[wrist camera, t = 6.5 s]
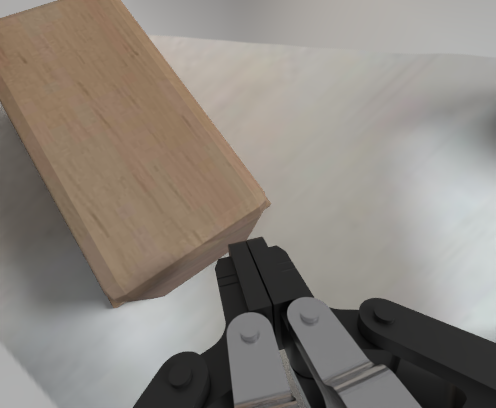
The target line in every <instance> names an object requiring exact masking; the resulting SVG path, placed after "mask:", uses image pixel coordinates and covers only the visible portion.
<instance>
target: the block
mask: <svg viewBox="0 0 496 408" xmlns="http://www.w3.org/2000/svg"><path fill="white" fill-rule="evenodd" d="M0 102H1V104H2V106H3V107H4V109H5V111H6V113H7V115H8V117H9V118H10V120H11V122H12V124H13V126H14V128H15V130H16V131H17V133H18V135H19V137H20V139H21V141H22V142H23V144H24V146H25V148H26V150H27V152H28V154H29V155H30V157H31V159H32V161H33V163H34V165H35V166H36V168H37V170H38V172H39V174H40V176H41V177H42V179H43V181H44V183H45V185H46V187H47V189H48V190H49V192H50V194H51V196H52V198H53V200H54V201H55V203H56V205H57V207H58V209H59V211H60V212H61V214H62V216H63V218H64V220H65V222H66V224H67V225H68V227H69V229H70V231H71V233H72V235H73V236H74V238H75V240H76V242H77V244H78V246H79V247H80V249H81V251H82V253H83V255H84V257H85V259H86V260H87V262H88V264H89V266H90V268H91V270H92V271H93V273H94V275H95V277H96V279H97V281H98V282H99V284H100V286H101V288H102V290H103V292H104V294H105V295H107V296H108V297H109V298H111V299H112V300H114V301H115V302H117V303H121V302H129V301H137V300H145V299H153V298H158V297H162V296H165V295H167V294H168V293H169V292H171V291H172V290H174V289H175V288H177V287H178V286H180V285H181V284H183V283H184V282H185V281H187V280H188V279H190V278H191V277H193V276H194V275H196V274H197V273H199V272H200V271H201V270H203V269H204V268H206V267H207V266H209V265H210V264H212V263H213V262H215V261H216V260H217V259H219V258H220V257H222V256H223V255H225V254H226V253H228V252H229V250H228V244H232V243H236V242H241V241H245V240H247V238H248V236H249V235H250V233H251V232H252V230H253V228H254V226H255V225H256V223H257V221H258V219H259V218H260V216H261V214H262V212H263V211H264V209H265V207H266V205H267V200H266V196H265V192H264V191H263V189H262V188H261V187H260V185H259V184H258V183H257V181H256V180H255V179H254V177H253V176H252V175H251V173H250V172H249V171H248V169H247V168H246V167H245V165H244V164H243V163H242V161H241V160H240V159H239V157H238V156H237V155H236V153H235V152H234V151H233V149H232V148H231V147H230V145H229V144H228V143H227V141H226V140H225V139H224V137H223V136H222V135H221V133H220V132H219V131H218V129H217V128H216V127H215V125H214V124H213V123H212V121H211V120H210V119H209V117H208V116H207V115H206V113H205V112H204V111H203V109H202V108H201V107H200V105H199V104H198V103H197V101H196V100H195V99H194V97H193V96H192V95H191V93H190V92H189V91H188V89H187V88H186V87H185V85H184V84H183V83H182V81H181V80H180V79H179V77H178V76H177V75H176V73H175V72H174V71H173V69H172V68H171V67H170V65H169V64H168V63H167V61H166V60H165V59H164V57H163V56H162V55H161V53H160V52H159V51H158V49H157V48H156V47H155V45H154V44H153V43H152V41H151V40H150V39H149V37H148V36H147V35H146V33H145V32H144V31H143V29H142V28H141V27H140V25H139V24H138V23H137V21H136V20H135V19H134V17H133V16H132V15H131V14H130V12H129V11H128V9H127V8H126V7H125V5H124V4H123V3H122V2H121V0H57V1H54V2H51V3H48V4H44V5H41V6H38V7H35V8H32V9H29V10H25V11H22V12H19V13H16V14H12V15H9V16H6V17H3V18H0Z"/></svg>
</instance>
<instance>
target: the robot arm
mask: <svg viewBox="0 0 496 408" xmlns="http://www.w3.org/2000/svg"><path fill="white" fill-rule="evenodd" d="M228 250H229V257H225V258H221V259H218V261H217V264H216V267H215V271H216V276H217V281H218V287H219V292H220V297H221V302H222V306H223V311H224V316H225V321H226V327H225V331H224V333H223V335H222V337H221V338H220V340H219V341H218V342H217V343H216V344H215V345H214V346H212V347H211V348H210V349H208V350H207V351H205V352H204V353H202V354H201V355H199V354H197V353H194V352H189V351H188V352H181V353H178V354H176V355H174V356H172V357H171V358H169V359H168V360H167V361H166V362H165V363H164V364H163V365H162V367H161V368H160V369H159V371H158V372H157V374H156V375H155V376H154V378H153V379H152V381H151V382H150V384H149V385H148V386H147V388H146V389H145V391H144V392H143V394H142V395H141V397H140V398H139V399H138V401H137V402H136V404H135V405H134V407H133V408H299V406H298V403H297V401H296V399H295V398H294V397H293V396H292V393H291V390H290V387H289V384H288V380H287V377H286V373H285V370H284V366H283V363H282V359H281V356H280V353H279V350H282V349H285V352H286V354H287V357H288V359H289V370H290V373H291V375H292V378H293V380H294V382H295V384H296V386H297V388H298V390H299V393H300V395H301V397H302V399H303V401H304V403H305V405H306V408H496V343H494V342H492V341H489V340H487V339H484V338H482V337H479V336H477V335H474V334H472V333H469V332H466V331H464V330H461V329H459V328H456V327H454V326H451V325H449V324H446V323H444V322H441V321H439V320H436V319H434V318H431V317H429V316H426V315H424V314H421V313H419V312H416V311H414V310H411V309H409V308H406V307H404V306H401V305H399V304H396V303H394V302H391V301H389V300H386V299H381V298H371V299H368V300H366V301H364V302H363V303H362V304H361V305H360V308H359V310H340V309H333V308H330V307H328V306H327V305H326V304H325V303H324V302H322V301H321V300H318V299H316V298H314V296H313V295H312V293H311V291H310V290H309V288H308V287H307V285H306V283H305V282H304V280H303V279H302V277H301V275H300V274H299V272H298V271H297V269H296V268H295V266H294V264H293V262H291V259H290V258H289V256H288V254H287V253H286V251H284V250H283V249H281V248H280V247H278V246H272V247H268V246H267V244H266V242H265V240H264V239H263V237H258V238H254V239H250V240H246V241H241V242H236V243H232V244H228Z"/></svg>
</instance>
